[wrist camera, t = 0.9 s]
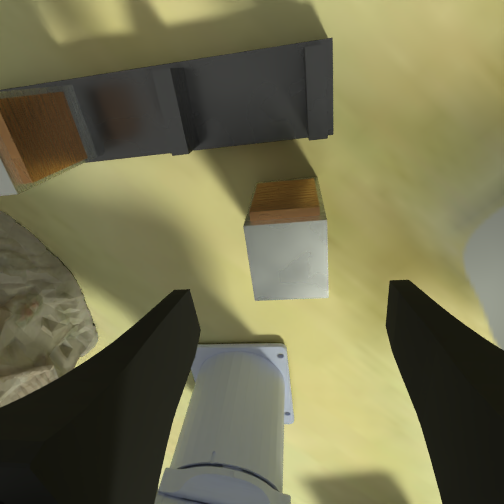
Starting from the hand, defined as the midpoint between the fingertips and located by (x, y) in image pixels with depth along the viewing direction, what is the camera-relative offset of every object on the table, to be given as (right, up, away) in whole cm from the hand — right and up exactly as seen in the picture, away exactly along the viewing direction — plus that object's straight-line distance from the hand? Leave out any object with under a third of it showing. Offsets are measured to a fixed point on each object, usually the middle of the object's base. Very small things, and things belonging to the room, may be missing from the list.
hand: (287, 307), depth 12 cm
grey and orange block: (+1, +4, +8) cm, 9 cm away
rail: (-6, +10, +6) cm, 13 cm away
